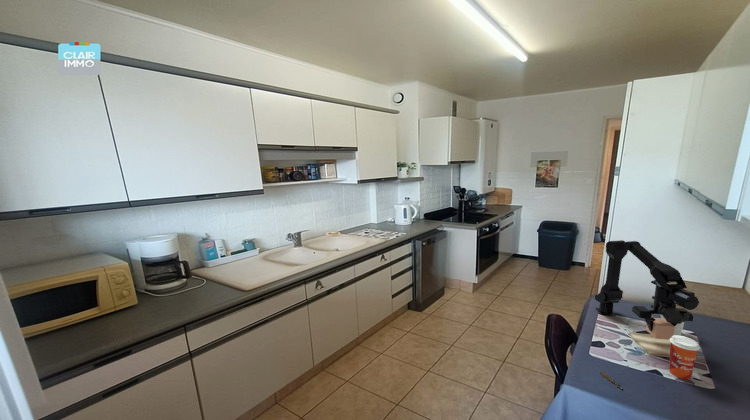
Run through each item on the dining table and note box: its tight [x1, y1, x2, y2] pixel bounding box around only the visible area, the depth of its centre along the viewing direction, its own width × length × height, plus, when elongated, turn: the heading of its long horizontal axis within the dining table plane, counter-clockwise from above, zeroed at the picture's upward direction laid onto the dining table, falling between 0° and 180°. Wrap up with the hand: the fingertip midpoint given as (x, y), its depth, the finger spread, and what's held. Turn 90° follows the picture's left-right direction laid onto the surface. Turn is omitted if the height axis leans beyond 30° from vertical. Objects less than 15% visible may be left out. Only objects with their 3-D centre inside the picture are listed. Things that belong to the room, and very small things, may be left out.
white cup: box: [660, 315, 685, 336], centre depth 134 cm, size 8×8×10 cm
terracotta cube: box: [645, 317, 675, 339], centre depth 124 cm, size 6×6×6 cm
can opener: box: [600, 371, 624, 390], centre depth 108 cm, size 9×2×1 cm, turn 2°
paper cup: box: [668, 335, 701, 380], centre depth 109 cm, size 8×8×14 cm
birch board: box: [628, 332, 671, 358], centre depth 126 cm, size 14×14×1 cm
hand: (659, 331), depth 125 cm, fingers closed on terracotta cube, 6 cm apart
